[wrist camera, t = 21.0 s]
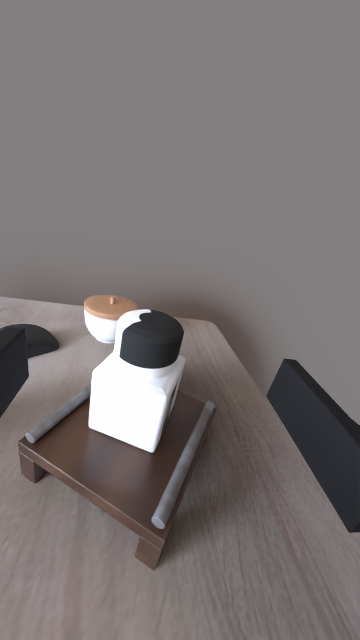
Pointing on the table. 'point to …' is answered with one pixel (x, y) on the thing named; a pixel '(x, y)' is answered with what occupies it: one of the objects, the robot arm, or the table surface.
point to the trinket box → (106, 315)
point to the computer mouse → (38, 340)
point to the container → (138, 379)
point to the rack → (121, 465)
